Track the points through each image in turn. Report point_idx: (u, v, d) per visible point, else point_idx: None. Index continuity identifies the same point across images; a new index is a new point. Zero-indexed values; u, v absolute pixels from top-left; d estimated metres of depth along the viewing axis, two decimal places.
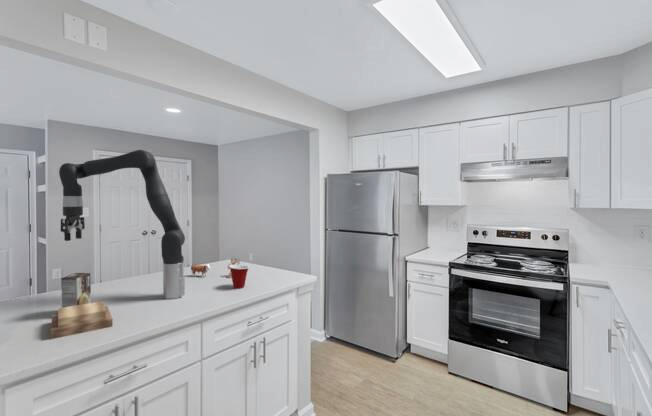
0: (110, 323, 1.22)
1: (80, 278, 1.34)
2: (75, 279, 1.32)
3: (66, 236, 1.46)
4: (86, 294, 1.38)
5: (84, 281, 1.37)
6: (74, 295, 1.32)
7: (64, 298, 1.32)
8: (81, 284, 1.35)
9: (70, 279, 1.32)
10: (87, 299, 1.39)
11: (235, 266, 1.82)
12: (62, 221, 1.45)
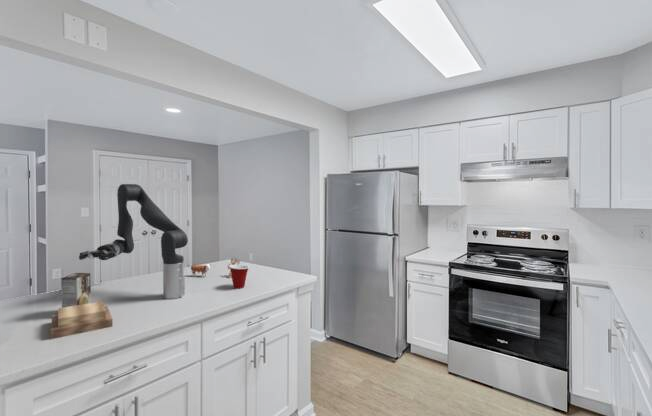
0: (110, 323, 1.22)
1: (80, 278, 1.34)
2: (75, 279, 1.32)
3: None
4: (86, 294, 1.38)
5: (84, 281, 1.37)
6: (74, 295, 1.32)
7: (64, 298, 1.32)
8: (81, 284, 1.35)
9: (70, 279, 1.32)
10: (87, 299, 1.39)
11: (235, 266, 1.82)
12: None
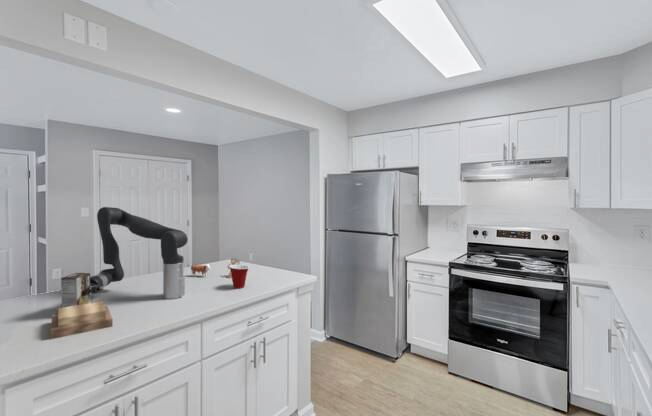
0: (110, 323, 1.22)
1: (80, 278, 1.34)
2: (75, 279, 1.32)
3: None
4: None
5: (84, 281, 1.37)
6: (74, 295, 1.32)
7: (64, 298, 1.32)
8: (81, 284, 1.35)
9: (70, 279, 1.32)
10: (87, 299, 1.39)
11: (235, 266, 1.82)
12: None
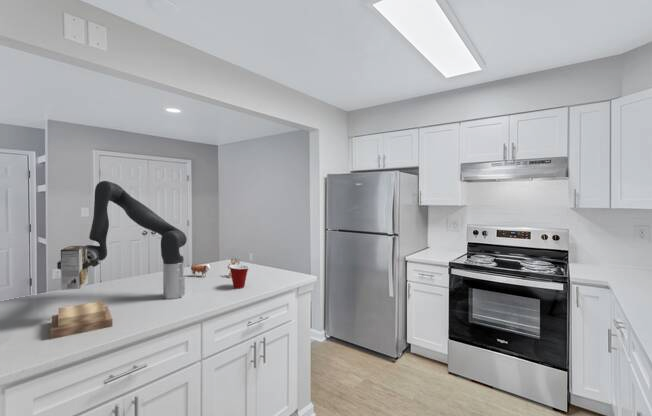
0: (110, 323, 1.22)
1: (81, 250, 1.28)
2: (77, 250, 1.26)
3: None
4: None
5: (84, 253, 1.30)
6: (76, 267, 1.26)
7: (64, 271, 1.25)
8: (82, 256, 1.29)
9: (71, 250, 1.25)
10: (86, 273, 1.33)
11: (235, 266, 1.82)
12: None
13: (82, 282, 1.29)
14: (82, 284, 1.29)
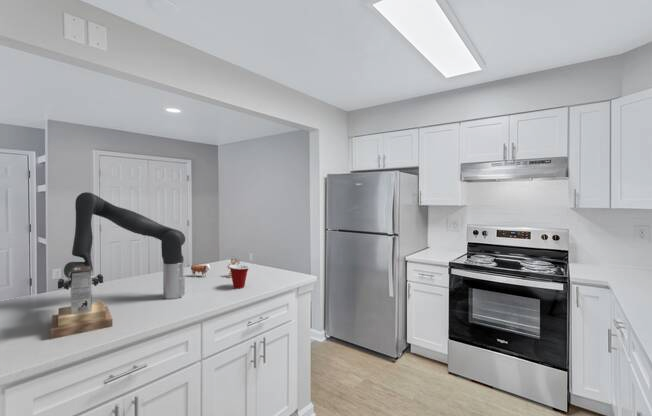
0: (110, 323, 1.22)
1: (91, 270, 1.23)
2: (89, 271, 1.21)
3: (63, 285, 1.20)
4: None
5: None
6: (88, 289, 1.21)
7: (75, 294, 1.19)
8: None
9: (83, 272, 1.20)
10: None
11: (235, 266, 1.82)
12: None
13: (91, 304, 1.24)
14: (91, 306, 1.24)
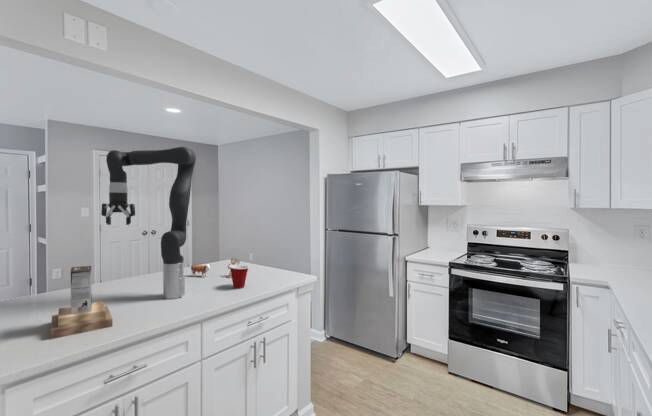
0: (110, 323, 1.22)
1: None
2: (89, 271, 1.21)
3: None
4: None
5: (91, 274, 1.25)
6: (87, 289, 1.21)
7: (74, 294, 1.19)
8: (91, 277, 1.24)
9: (83, 272, 1.20)
10: None
11: (235, 266, 1.82)
12: None
13: (91, 304, 1.24)
14: (91, 306, 1.24)
